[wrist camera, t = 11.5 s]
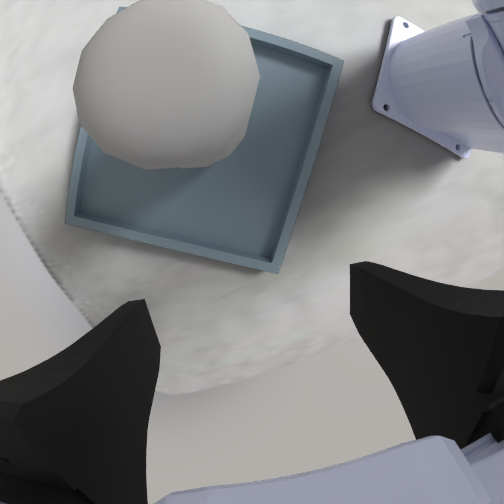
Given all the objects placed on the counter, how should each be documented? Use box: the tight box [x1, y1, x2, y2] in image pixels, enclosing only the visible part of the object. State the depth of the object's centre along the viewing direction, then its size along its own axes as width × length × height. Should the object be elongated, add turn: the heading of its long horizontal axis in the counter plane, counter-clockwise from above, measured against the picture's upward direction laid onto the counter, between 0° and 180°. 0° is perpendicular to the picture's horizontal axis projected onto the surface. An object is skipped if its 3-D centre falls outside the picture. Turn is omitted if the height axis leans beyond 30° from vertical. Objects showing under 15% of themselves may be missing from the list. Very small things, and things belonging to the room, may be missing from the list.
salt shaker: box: [73, 0, 260, 170], centre depth 11 cm, size 6×6×13 cm
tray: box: [65, 7, 344, 274], centre depth 17 cm, size 14×14×2 cm
